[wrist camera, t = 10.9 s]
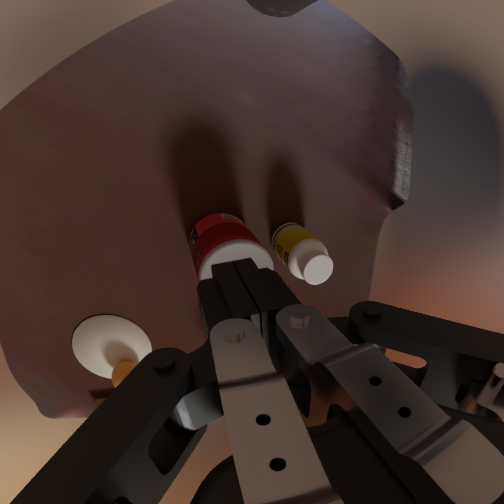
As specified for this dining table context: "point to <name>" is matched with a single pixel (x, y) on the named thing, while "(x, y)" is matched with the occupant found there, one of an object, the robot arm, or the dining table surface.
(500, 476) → the robot arm
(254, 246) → the canned food
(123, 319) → the disc
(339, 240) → the dining table surface
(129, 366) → the ball
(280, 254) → the supplement bottle
